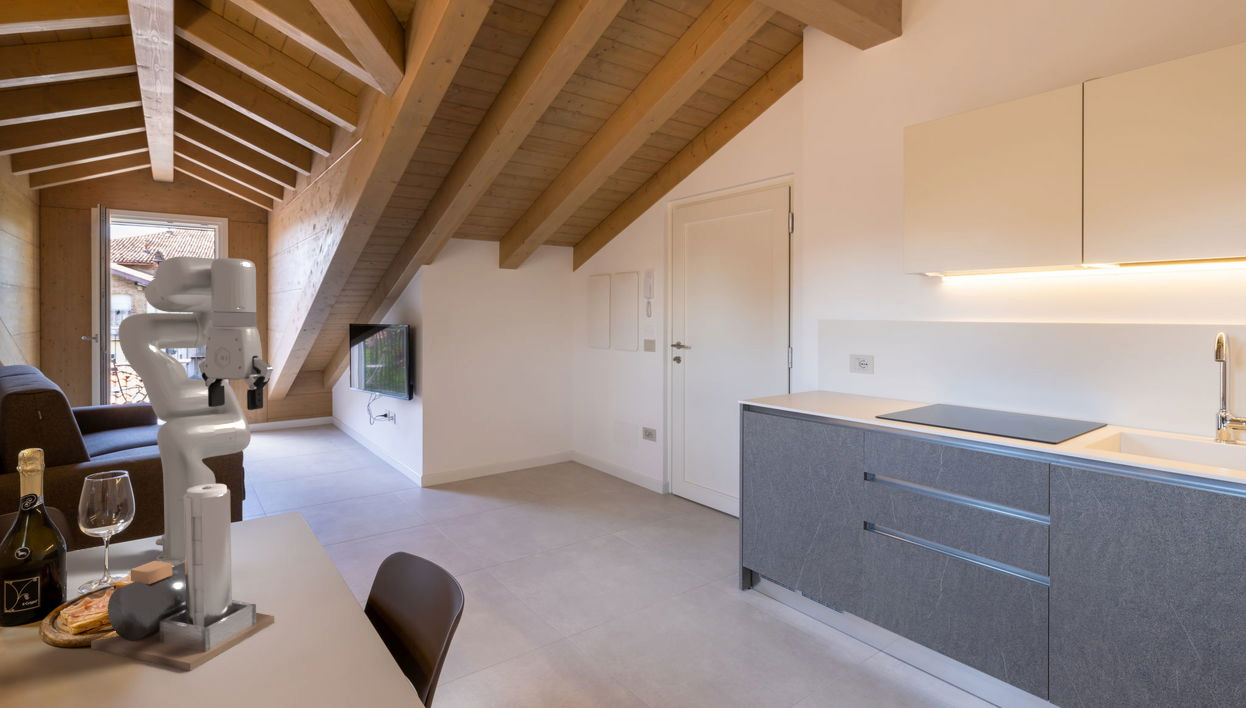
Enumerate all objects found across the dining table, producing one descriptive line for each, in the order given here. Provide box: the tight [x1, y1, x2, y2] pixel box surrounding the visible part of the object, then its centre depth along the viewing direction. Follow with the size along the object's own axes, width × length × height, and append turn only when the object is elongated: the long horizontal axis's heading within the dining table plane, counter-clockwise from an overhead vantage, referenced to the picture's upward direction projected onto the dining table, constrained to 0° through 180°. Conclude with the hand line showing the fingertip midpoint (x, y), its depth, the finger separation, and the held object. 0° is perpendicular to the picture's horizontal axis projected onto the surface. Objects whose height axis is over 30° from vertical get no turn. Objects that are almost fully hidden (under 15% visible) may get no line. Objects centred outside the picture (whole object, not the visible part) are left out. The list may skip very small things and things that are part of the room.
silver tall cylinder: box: [183, 483, 233, 628], centre depth 105 cm, size 6×6×25 cm
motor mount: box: [90, 560, 275, 672], centre depth 106 cm, size 21×16×12 cm
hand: (235, 407), depth 124 cm, fingers open, 9 cm apart
